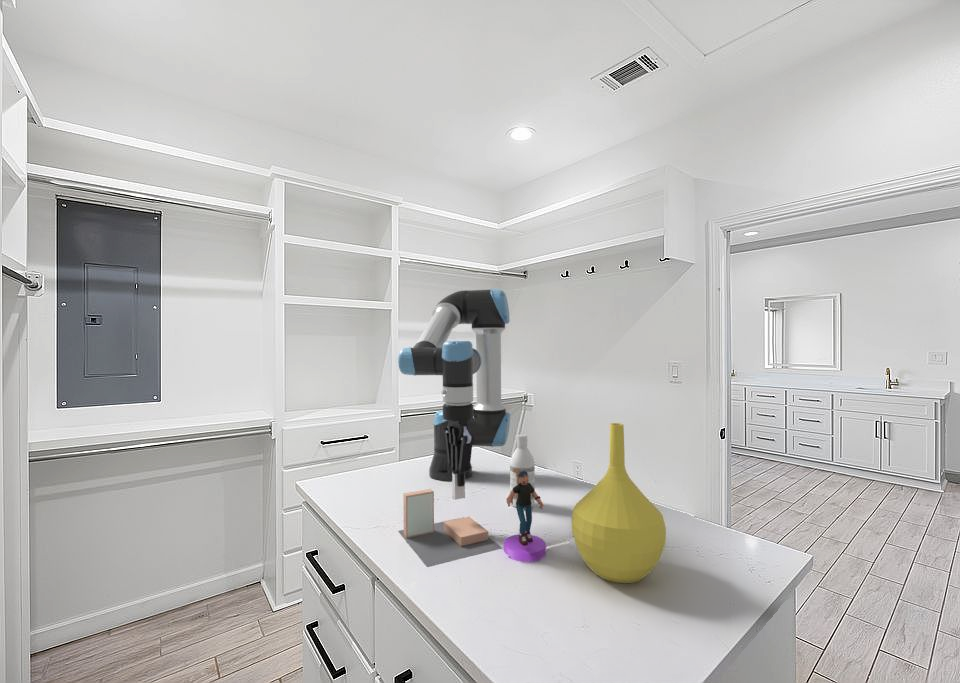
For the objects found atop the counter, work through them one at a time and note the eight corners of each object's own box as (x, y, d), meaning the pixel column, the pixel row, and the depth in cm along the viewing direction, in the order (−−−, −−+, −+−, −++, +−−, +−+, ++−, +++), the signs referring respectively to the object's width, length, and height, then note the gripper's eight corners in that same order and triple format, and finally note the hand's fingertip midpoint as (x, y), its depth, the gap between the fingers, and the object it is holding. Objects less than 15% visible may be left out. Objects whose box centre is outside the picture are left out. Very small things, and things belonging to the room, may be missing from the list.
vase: (656, 607, 79) (655, 437, 79) (558, 578, 88) (557, 427, 88) (673, 563, 94) (672, 421, 94) (588, 543, 104) (587, 414, 104)
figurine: (515, 564, 94) (514, 478, 94) (497, 546, 102) (496, 467, 103) (553, 556, 97) (553, 473, 97) (533, 539, 106) (532, 463, 106)
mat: (464, 518, 118) (464, 517, 118) (502, 549, 101) (502, 547, 101) (397, 532, 110) (397, 530, 110) (427, 568, 92) (427, 566, 92)
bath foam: (506, 503, 130) (505, 434, 130) (527, 499, 133) (526, 432, 133) (517, 511, 124) (517, 438, 124) (539, 507, 126) (538, 436, 126)
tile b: (430, 529, 111) (430, 488, 111) (434, 532, 109) (434, 491, 109) (403, 535, 108) (403, 493, 108) (406, 538, 106) (406, 496, 106)
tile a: (469, 516, 113) (488, 531, 105) (469, 525, 113) (488, 540, 105) (443, 521, 110) (460, 537, 101) (443, 530, 110) (461, 546, 101)
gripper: (433, 400, 115) (434, 492, 115) (455, 408, 103) (456, 509, 104) (460, 398, 118) (461, 487, 119) (483, 405, 107) (484, 503, 107)
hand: (458, 497), depth 111 cm, fingers closed
